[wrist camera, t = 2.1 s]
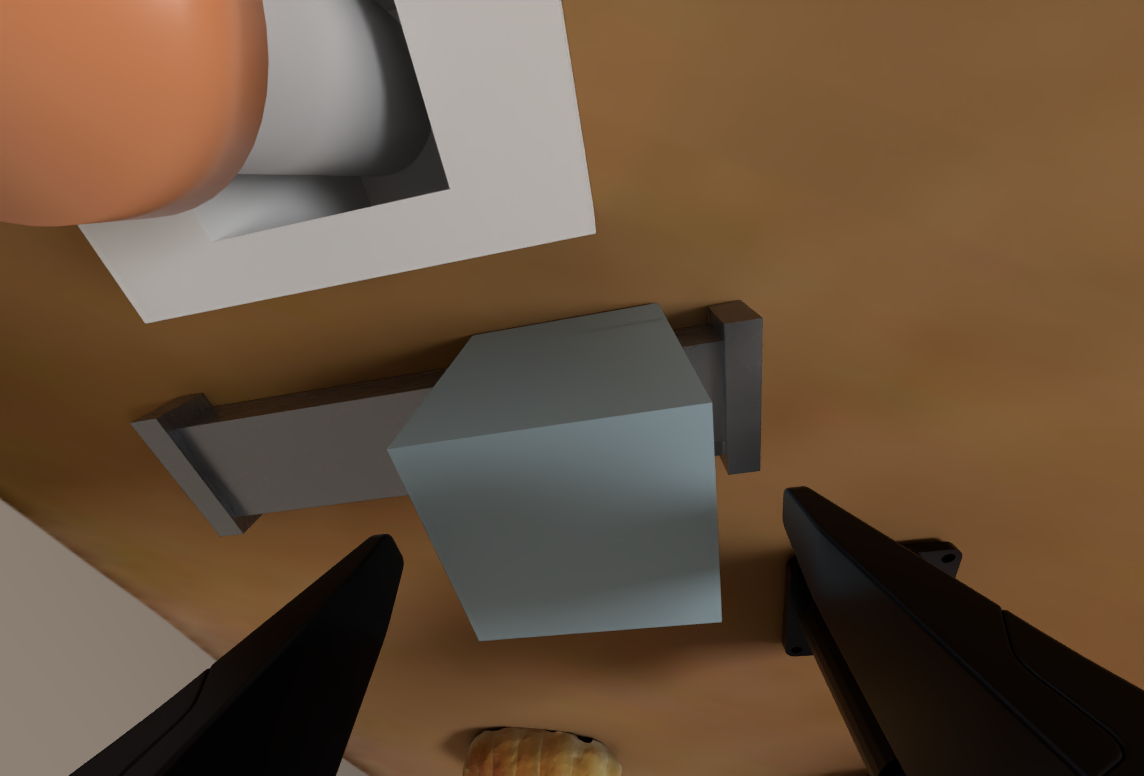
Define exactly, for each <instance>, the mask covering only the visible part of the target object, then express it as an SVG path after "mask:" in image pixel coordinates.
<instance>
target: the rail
mask: <svg viewBox="0 0 1144 776" xmlns="http://www.w3.org/2000/svg"><path fill="white" fill-rule="evenodd" d="M707 308H708V324H707V325H701V326H695V327H689V328H683V329H677V330H673V331H674V333H675V335H676V337H677V339H678V341H679V342H680V344H681V346H682V348H683V350H684V352H685V354H686V355H687V357H688V359H689V361H690V363H691V365H692V366H693V368H694V370H695V372H696V374H697V376H698V377H699V379H700V381H701V383H702V385H703V387H704V388H705V390H706V392H707V394H708V396H709V398H710V399H711V401H712V410H713V432H714V454H715V456H717V455H719V456H720V458H721V460H722V462H723V464H724V466H725V468H726V471H727V473H728V475H730V474H738V473H747V472H755V471H760V448H761V389H762V329H763V318H762V317H761V316H760V315H758V314H757V313H756V312H755V311H753V310H752V309H751V308H750V307H748V306H747V305H746V304H745V303H744V302H742V301H741V300H739V301H733V302H727V303H722V304H716V305H710V306H707ZM447 369H448V368H443V369H437V370H431V371H425V372H419V373H413V374H407V375H401V376H395V377H389V378H383V379H377V380H371V381H365V382H359V383H353V384H347V385H341V386H335V387H329V388H323V389H317V390H311V391H305V392H299V393H293V394H287V395H281V396H275V397H269V398H263V399H257V400H251V401H245V402H239V403H233V404H227V405H221V406H215V407H212V406H211V404H210V403H209V401H208V400H207V398H206V397H205V395H204V394H203V393H199V394H194V395H188V396H182V397H178V398H176V399H174V400H173V401H171V402H169V403H167V404H165V405H163V406H161V407H159V408H157V409H155V410H154V411H152V412H150V413H148V414H146V415H144V416H142V417H140V418H138V419H137V420H135V421H133V422H131V423H130V424H131V425H132V426H133V428H134V429H135V430H136V431H137V433H138V434H139V435H140V436H141V438H142V439H143V440H144V441H145V443H146V444H147V445H148V446H149V448H150V449H151V450H152V451H153V453H154V454H155V455H156V457H157V458H158V459H159V460H160V462H161V463H162V464H163V465H164V467H165V468H166V469H167V470H168V472H169V473H170V474H171V475H172V477H173V478H174V479H175V480H176V482H177V483H178V484H179V485H180V487H181V488H182V489H183V490H184V492H185V493H186V494H187V495H188V497H189V498H190V499H191V500H192V502H193V503H194V504H195V505H196V507H197V508H198V509H199V510H200V512H201V513H202V514H203V515H204V517H205V518H206V519H207V520H208V522H209V523H210V524H211V525H212V527H213V528H214V529H215V530H216V532H217V533H218V534H219V535H220V537H221V536H229V535H237V534H244V533H245V532H246V531H247V529H248V528H249V527H250V526H251V525H252V524H253V523H254V522H255V521H256V520H257V519H258V518H259V517H260V516H261V515H262V514H263V513H271V512H279V511H287V510H294V509H302V508H310V507H318V506H326V505H334V504H341V503H349V502H357V501H365V500H373V499H381V498H388V497H396V496H404V495H408V492H407V490H406V488H405V486H404V484H403V482H402V480H401V478H400V476H399V474H398V472H397V470H396V468H395V466H394V463H393V461H392V459H391V457H390V455H389V453H388V451H387V448H388V447H389V445H390V444H391V443H392V441H393V440H394V439H395V438H396V436H397V435H398V434H399V432H400V431H401V430H402V428H403V427H404V426H405V424H406V423H407V422H408V420H409V419H410V418H411V416H412V415H413V414H414V412H415V411H416V410H417V408H418V407H419V406H420V404H421V403H422V402H423V401H424V399H425V398H426V397H427V395H428V394H429V393H430V391H431V390H432V389H433V387H434V386H435V385H436V383H437V382H438V381H439V379H440V378H441V377H442V375H443V374H444V373H445V371H446V370H447Z"/></svg>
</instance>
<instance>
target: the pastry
mask: <svg viewBox="0 0 1144 776" xmlns="http://www.w3.org/2000/svg"><path fill="white" fill-rule="evenodd" d="M463 776H621V764H620V762H619V760H618V759H617V758H616V757H615V756H614V755H613V754H612V753H611V752H610V751H609V750H608V748H607V747H606V746H605V745H604V744H603V743H600V742H598V741H595V740H594V739H593V740H592V742H591V743H585V742H583V741H581V740H579V739H578V738H577V736H576V735H573V734H569V733H564V732H561V731H557V732H549V731H547V730H544V729H531V728H520V727H509V728H503V729H501V730H498V731H484V732H482V733H481V734H480V735H478V736H476V737H475V739H474V740H473V741H472V743H471V745H470V747H469V751H468V755H467V758H466V761H465V764H464V768H463Z"/></svg>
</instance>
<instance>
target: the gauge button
mask: <svg viewBox="0 0 1144 776" xmlns="http://www.w3.org/2000/svg"><path fill="white" fill-rule="evenodd" d="M430 132H431V124H430V120H429V117H428V113H427V110H426V107H425V103H424V100H423V96H422V93H421V90H420V86H419V83H418V80H417V76H416V73H415V69H414V66H413V63H412V59H411V56H410V52H409V49H408V46H407V42H406V39H405V36H404V32H403V29H402V25H401V24H400V23H399V22H398V21H397V20H396V19H395V18H394V17H393V16H392V15H390V14H389V13H388V12H387V11H386V10H385V9H383V8H382V7H381V6H380V5H378V4H377V3H376V2H375V1H374V0H0V222H6V223H13V224H20V225H27V226H69V225H80V224H92V223H103V222H114V221H126V220H137V219H148V218H157V217H164V216H171V215H176V214H179V213H182V212H185V211H188V210H191V209H194V208H196V207H198V206H200V205H201V204H203V203H205V202H207V201H209V200H210V199H212V198H213V197H215V196H216V195H217V194H218V193H219V192H221V191H222V190H223V189H224V188H225V187H226V186H228V185H229V183H230V182H231V181H232V180H233V178H234V177H235V176H236V175H237V174H267V175H331V176H385V175H390V174H393V173H396V172H399V171H400V170H402V169H404V168H406V167H407V166H408V165H410V164H411V163H412V162H413V161H414V160H415V159H416V158H417V157H418V156H419V154H420V153H421V151H422V150H423V148H424V146H425V144H426V142H427V140H428V137H429V134H430Z"/></svg>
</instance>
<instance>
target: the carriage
mask: <svg viewBox="0 0 1144 776" xmlns="http://www.w3.org/2000/svg"><path fill="white" fill-rule="evenodd" d="M387 451H388V453H389V455H390V457H391V459H392V461H393V463H394V466H395V468H396V470H397V472H398V474H399V476H400V478H401V480H402V482H403V484H404V486H405V488H406V490H407V492H408V495H409V497H410V499H411V501H412V503H413V505H414V507H415V509H416V511H417V513H418V515H419V517H420V519H421V521H422V524H423V526H424V528H425V530H426V532H427V534H428V536H429V538H430V540H431V542H432V544H433V546H434V548H435V551H436V553H437V555H438V557H439V559H440V561H441V563H442V565H443V567H444V569H445V571H446V573H447V575H448V577H449V580H450V582H451V584H452V586H453V588H454V590H455V592H456V594H457V596H458V598H459V600H460V602H461V604H462V606H463V609H464V611H465V613H466V615H467V617H468V619H469V621H470V623H471V625H472V627H473V629H474V631H475V633H476V635H477V638H478V640H479V641H487V640H500V639H513V638H525V637H538V636H551V635H563V634H576V633H589V632H602V631H614V630H627V629H640V628H652V627H665V626H678V625H691V624H703V623H716V622H722V610H721V588H720V566H719V543H718V521H717V499H716V477H715V454H714V432H713V410H712V401H711V399H710V398H709V396H708V394H707V392H706V390H705V388H704V387H703V385H702V383H701V381H700V379H699V377H698V376H697V374H696V372H695V370H694V368H693V366H692V365H691V363H690V361H689V359H688V357H687V355H686V354H685V352H684V350H683V348H682V346H681V344H680V342H679V341H678V339H677V337H676V335H675V333H674V331H673V330H672V328H671V326H670V324H669V322H668V320H667V319H666V317H665V315H664V313H663V311H662V309H661V308H660V306H659V304H658V303H654V304H649V305H643V306H637V307H632V308H626V309H620V310H614V311H609V312H603V313H597V314H592V315H586V316H580V317H575V318H569V319H563V320H558V321H552V322H546V323H541V324H535V325H529V326H524V327H518V328H512V329H506V330H501V331H495V332H489V333H484V334H478V335H473V336H472V337H471V338H470V340H469V341H468V342H467V344H466V345H465V346H464V348H463V349H462V350H461V352H460V353H459V354H458V356H457V357H456V358H455V360H454V361H453V362H452V364H451V365H450V366H449V368H448V369H447V370H446V371H445V373H444V374H443V375H442V377H441V378H440V379H439V381H438V382H437V383H436V385H435V386H434V387H433V389H432V390H431V391H430V393H429V394H428V395H427V397H426V398H425V399H424V401H423V402H422V403H421V404H420V406H419V407H418V408H417V410H416V411H415V412H414V414H413V415H412V416H411V418H410V419H409V420H408V422H407V423H406V424H405V426H404V427H403V428H402V430H401V431H400V432H399V434H398V435H397V436H396V438H395V439H394V440H393V441H392V443H391V444H390V445H389V447H388V448H387Z"/></svg>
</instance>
